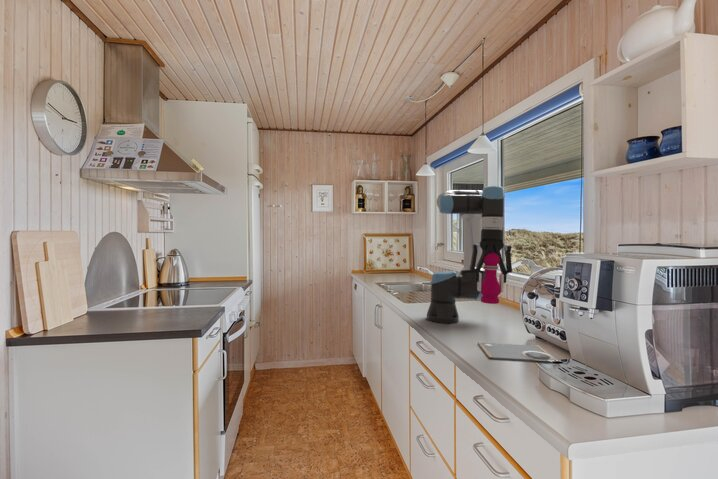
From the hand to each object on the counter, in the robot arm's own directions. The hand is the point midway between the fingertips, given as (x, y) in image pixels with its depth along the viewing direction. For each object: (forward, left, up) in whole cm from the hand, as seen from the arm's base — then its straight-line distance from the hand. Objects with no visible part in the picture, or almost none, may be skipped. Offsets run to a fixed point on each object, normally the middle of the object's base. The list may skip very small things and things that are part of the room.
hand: (490, 291), depth 132 cm
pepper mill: (0, 0, -4) cm, 4 cm away
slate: (+5, +8, -21) cm, 23 cm away
